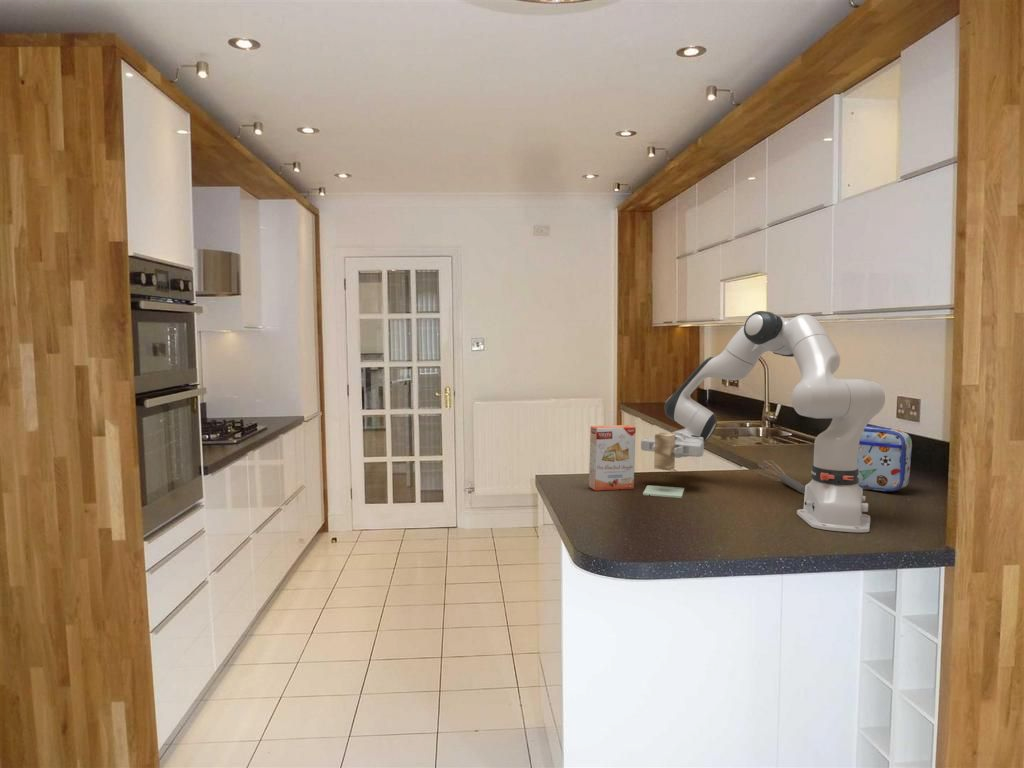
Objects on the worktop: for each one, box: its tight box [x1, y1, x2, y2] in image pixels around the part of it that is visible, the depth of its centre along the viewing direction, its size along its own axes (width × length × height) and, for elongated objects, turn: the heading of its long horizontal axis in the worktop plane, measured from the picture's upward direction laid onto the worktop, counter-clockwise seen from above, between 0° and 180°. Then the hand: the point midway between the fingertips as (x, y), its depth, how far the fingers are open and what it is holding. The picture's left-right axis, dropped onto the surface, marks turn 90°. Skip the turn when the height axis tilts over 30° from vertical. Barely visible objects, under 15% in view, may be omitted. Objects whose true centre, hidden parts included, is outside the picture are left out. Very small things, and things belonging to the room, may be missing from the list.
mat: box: [642, 485, 685, 499], centre depth 220 cm, size 12×12×1 cm
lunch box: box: [857, 424, 913, 492], centre depth 229 cm, size 28×10×22 cm, turn 43°
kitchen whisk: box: [757, 460, 806, 495], centre depth 233 cm, size 6×34×6 cm, turn 5°
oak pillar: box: [653, 432, 676, 471], centre depth 220 cm, size 5×5×11 cm
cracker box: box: [588, 424, 636, 492], centre depth 225 cm, size 14×6×21 cm, turn 105°
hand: (663, 450), depth 219 cm, fingers closed on oak pillar, 5 cm apart
